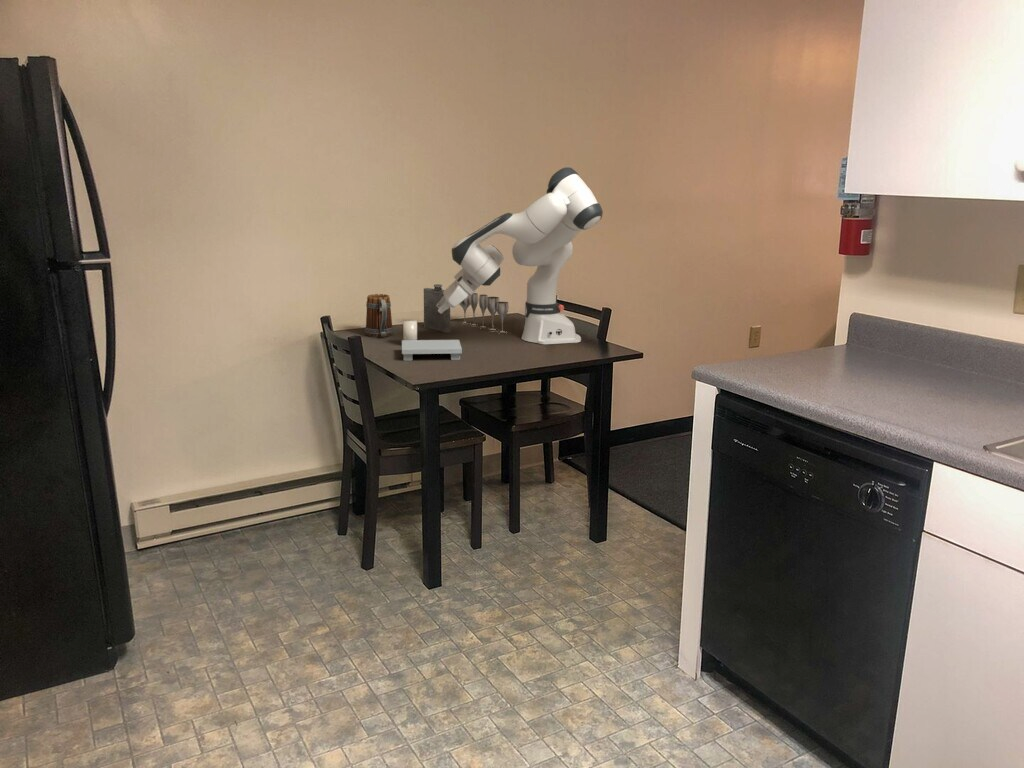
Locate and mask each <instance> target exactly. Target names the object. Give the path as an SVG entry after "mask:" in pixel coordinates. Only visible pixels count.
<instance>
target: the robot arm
mask: <svg viewBox="0 0 1024 768" xmlns="http://www.w3.org/2000/svg"><path fill="white" fill-rule="evenodd" d="M603 212H604V211H603V208H602V206H601V203H599V202H598V200H597V198H596V197H595V194H594V193H593V191H592V190H591V188H589V186H588V185H587V184H586V182H585V181H584V180H583V179H582V178H581V177H580V175H579V173H578V172H577V171H576V170H575V169H573V168H572V167H566V166H565V167H563V168H561V169H559V170H558V171H556V172H555V173H554V174H552V176H550V178H549V181H548V185H547V189H546V193H545V194H544V195H543V196H541V197H539V198H538V199H536V200H534V202H532V203H531V204H530V205H528V207H526V208H525V209H524V210H522V211H521V212H517V213H512V212H507V213H504V214H501V215H500V216H498V217H496V218H494V219H493V220H491V221H490V222H488V223H487V224H485V225H483V226H482V227H480V228H479V229H477V230H475V231H474V232H472V233H470V234H468V235H467V236H465V237H462V238H461V239H459V240H457V241H456V243H454V245H453V246H452V248H451V257H452V258H451V259H452V260H453V261H454V262H455V263H456V264H457V265H459V266H460V267H461V269H460V270H459V271H458V272H457V273H456V274H455V275H454V276H453V278H454V279H455V280H454V281H453V282H452V283H451V284H450V285H448V287H446V289H444V290H445V291H444V292H443V294H444V296H443V297H442V299H441V300H440V301H439V303H438V304H437V305H436V306H437V307H438V308H439V309H438V312H439V313H441V314H442V313H443V312H444V311H445V310H447V309H448V308H449V307H450V308H452V309H455V307H457V306H459V304H460V303H461V302H462V301H463V300H464V299H465V298H467V297H468V295H472V294H473V293H476V290H478V289H479V288H480V287H481V286H484V287H486V286H491V285H492V284H493V282H495V281H496V280H498V278H499V277H500V276H501V267H500V265H501V264H502V263H503V262H504V255H503V254H502V252H501V251H500V250H499V249H498V248H497V247H495V246H494V245H492V244H488V245H486V246H484V247H482V246H481V244H482V243H483V242H485V241H486V240H488V239H490V238H491V237H492V236H494V235H498V234H500V235H501V234H502V235H505V236H508V237H511V238H513V239H514V240H515V242H514V243H513V245H512V250H511V251H512V252H511V255H512V257H513V260H514V261H515V262H516V263H517V265H520V266H526V267H536V269H535V271H534V273H533V275H531V276H530V277H529V278H528V280H527V283H526V301H525V304H524V316H525V321H524V326H523V332H522V335H521V340H523V341H525V342H530V343H536V344H540V345H557V344H558V345H561V344H577V343H580V342H581V341H582V337H581V336H580V334H577V333H576V327H575V325H574V323H573V321H572V320H571V319H569V318H568V317H567V316H566V315H564V313H562V311H564V309H565V307H564V304H563V305H562V304H560V303H558V302H557V292H558V291H557V288H558V282H559V278H560V275H561V272H562V270H563V267H564V266H565V265H566V263H567V262H568V261H569V260H570V259H571V257H572V256H573V249H574V246H573V243H572V241H573V240H574V239H575V238H576V237H577V236H578V235H579V234H580V232H581V231H582V230H589V229H592V228H593V227H594V226H595V225H597V224H598V223H599V222H600V221H601V219H602V218H603Z"/></svg>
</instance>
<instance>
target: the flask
mask: <svg viewBox="0 0 1024 768" xmlns="http://www.w3.org/2000/svg"><path fill="white" fill-rule="evenodd" d="M442 287H443V284H438V283H437V284H433V288H431V287H425V288H423V328H424V327H425V328H424V329H426V328H429V329H428V330H431V329H434V330H433V331H436V330H437V331H436V332H439V331H441V332H440V333H442V332H443V333H442V334H450V333H451V306H450V307H449V308H448V309H447V310H445V311H444V312H443V313H442V314H441V313H439V312H438V309H439V308H438V307H437V306H436V305H437V304H438V303H439V301H440V300H441V299H442V297H443V296H444V294H443V292H444V291H445V290H446V289H443V288H442Z"/></svg>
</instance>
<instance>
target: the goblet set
mask: <svg viewBox="0 0 1024 768" xmlns="http://www.w3.org/2000/svg"><path fill="white" fill-rule="evenodd" d="M458 306H460V307H461V308H462V309H463V314H464V317H463V319H464V320H463V321H462V322H463V323H466V322H467V321H466V313H467V312H466V311H467V310H468V308H469V307H471V309H472V314H473V318H472V319H473V320H475V313H476V310H477V306H479V309H480V310H481V314H482V326H481V327H485V326H484V318H485V312H486V310H487V311H488V313H490V315H491V328H489V329H490V330H496V329H497V328H494V317H495V315H496V313H497V315H498V316H499V318H500V320H501V330H499V331H500V332H505V330H504V320H505V318H506V316H507V314H508V313H509V307H510V305H509V302H508V301H500V297H498V296H488V295H487V294H484V293H483V294H478V293H477V292H474V293H473V294H472V295H468V297H467V298H465V299H464V300H463V301H462V302H461V303H460V304H458ZM472 325H476V323H475V322H473V323H472Z"/></svg>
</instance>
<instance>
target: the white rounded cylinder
mask: <svg viewBox="0 0 1024 768" xmlns="http://www.w3.org/2000/svg"><path fill="white" fill-rule="evenodd" d="M402 327H403V328H402V329H403V330H402V333H403V334H402V335H403V336H402V338H403V339H402V340H418V320H416V319H404V320H403V321H402Z"/></svg>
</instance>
